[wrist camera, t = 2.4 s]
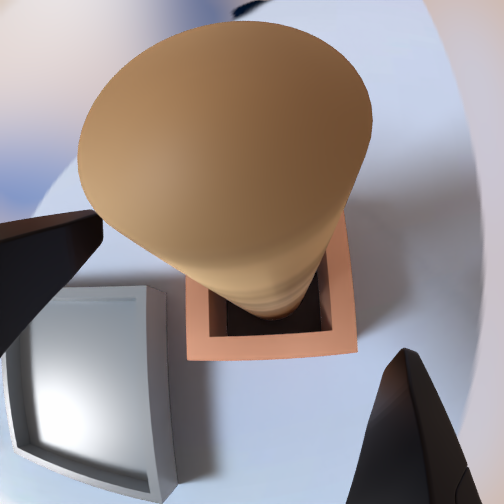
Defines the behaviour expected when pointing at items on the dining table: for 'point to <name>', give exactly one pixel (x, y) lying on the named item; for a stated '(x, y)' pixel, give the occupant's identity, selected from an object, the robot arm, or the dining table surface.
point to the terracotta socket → (279, 345)
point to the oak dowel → (230, 157)
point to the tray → (95, 390)
